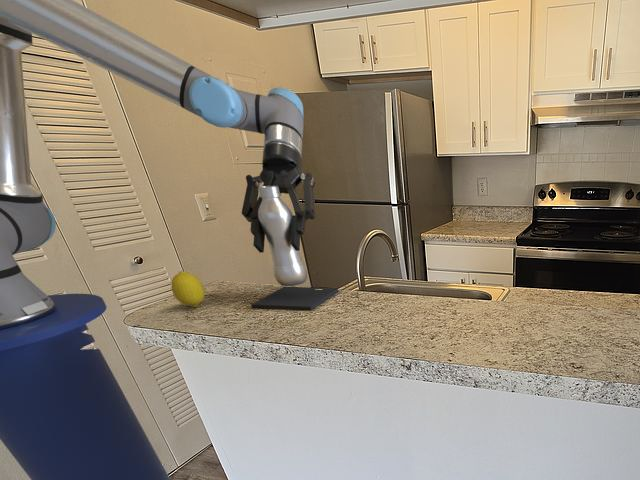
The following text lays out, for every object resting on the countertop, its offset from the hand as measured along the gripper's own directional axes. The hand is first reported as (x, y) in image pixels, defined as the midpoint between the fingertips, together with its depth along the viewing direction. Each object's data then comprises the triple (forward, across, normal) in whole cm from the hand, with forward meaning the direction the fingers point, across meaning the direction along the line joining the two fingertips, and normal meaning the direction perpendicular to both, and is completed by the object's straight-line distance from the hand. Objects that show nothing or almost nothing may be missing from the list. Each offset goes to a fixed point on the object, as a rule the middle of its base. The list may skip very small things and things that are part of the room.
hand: (276, 247), depth 81 cm
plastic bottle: (+4, 0, -9) cm, 10 cm away
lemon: (+7, +21, -10) cm, 25 cm away
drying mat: (+6, 0, -11) cm, 13 cm away
